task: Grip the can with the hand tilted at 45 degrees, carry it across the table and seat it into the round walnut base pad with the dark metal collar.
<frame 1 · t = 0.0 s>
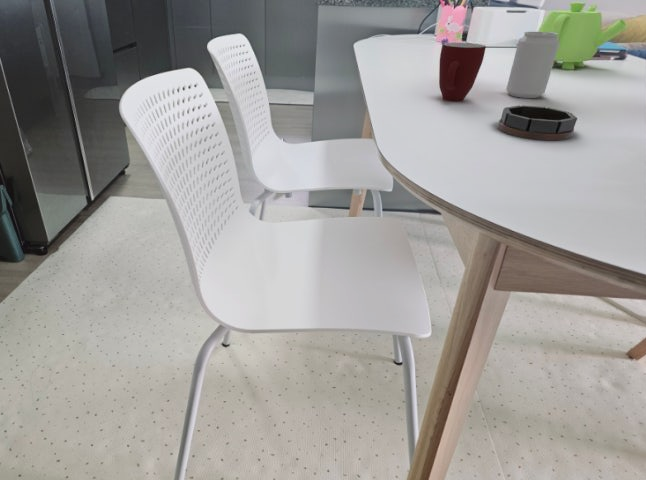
mug: (452, 101, 95), on the table
base pad: (533, 130, 76), on the table
can: (523, 96, 100), on the table
teapot: (570, 66, 135), on the table
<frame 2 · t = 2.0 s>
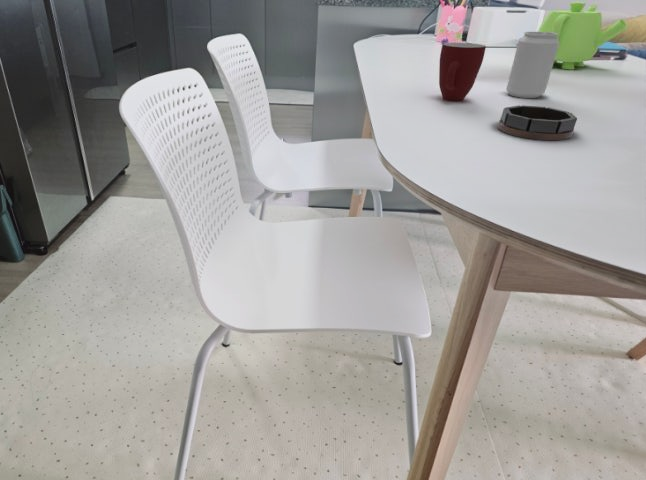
nothing on the table moved.
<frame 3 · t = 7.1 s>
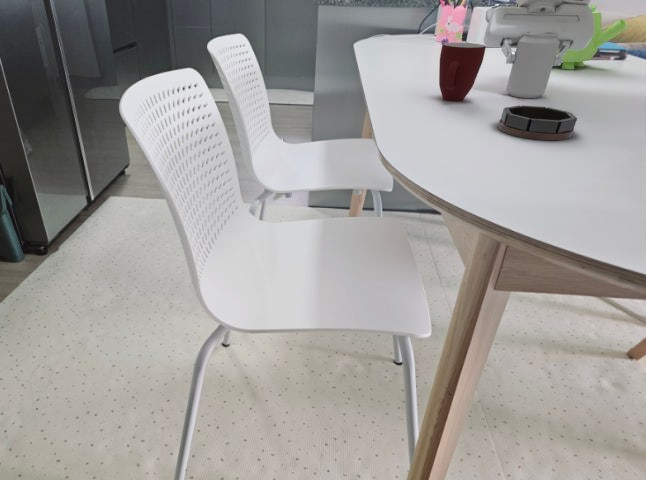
hand: (533, 62, 95), 6 cm above the table, tool tilted 45°, fingers closed on can, 7 cm apart
can: (523, 96, 100), on the table, touching gripper
everything else where it was.
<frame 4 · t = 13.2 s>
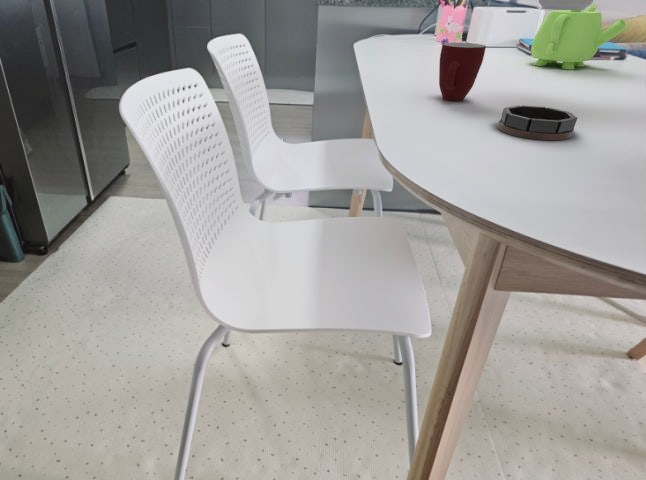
can: (562, 10, 73), point 17 cm above the table, touching gripper
everything else where it was.
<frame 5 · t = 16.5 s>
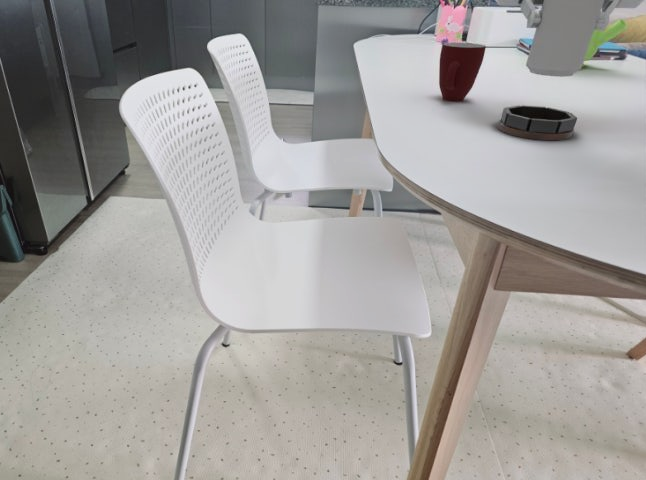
hand: (566, 26, 67), 15 cm above the table, tool tilted 45°, fingers closed on can, 7 cm apart
can: (550, 74, 71), point 8 cm above the table, touching gripper
everything else where it was.
when the fingers open (7 cm above the table, at t = 19.3 s): can stays where it is, resting on base pad.
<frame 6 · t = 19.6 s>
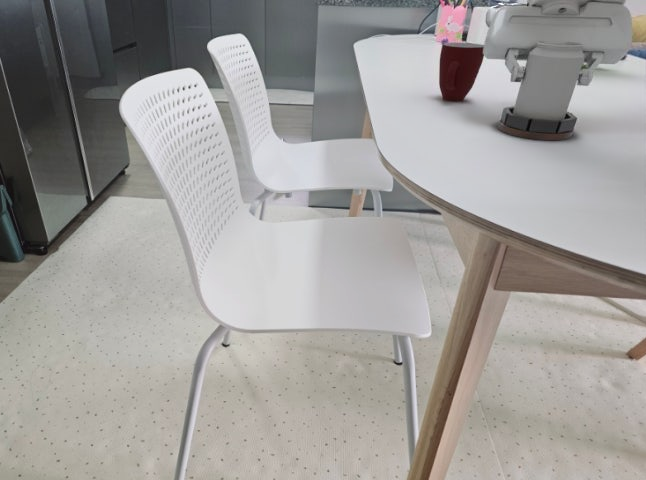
hand: (550, 81, 71), 8 cm above the table, tool tilted 45°, fingers open, 8 cm apart
can: (534, 125, 75), point 1 cm above the table, touching base pad
everything else where it was.
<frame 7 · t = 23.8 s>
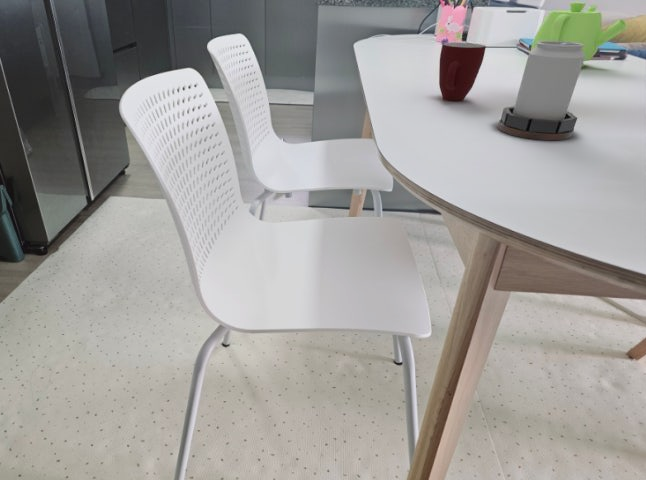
nothing on the table moved.
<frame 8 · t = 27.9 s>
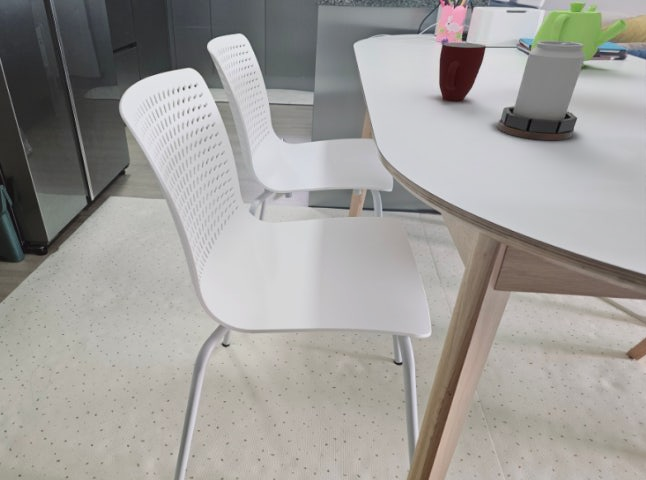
nothing on the table moved.
at the end: can 0.1 cm off-centre on the base pad, point 0.8 cm above the base pad's base; can tilted 0°; the gripper is holding nothing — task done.
